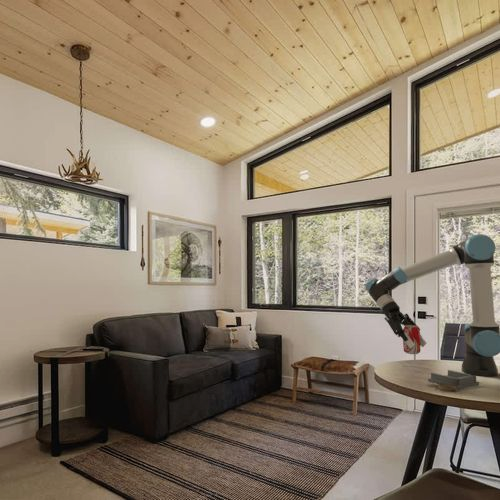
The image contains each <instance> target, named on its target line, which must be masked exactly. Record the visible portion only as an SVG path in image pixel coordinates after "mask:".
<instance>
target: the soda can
mask: <svg viewBox="0 0 500 500" xmlns="http://www.w3.org/2000/svg"><path fill="white" fill-rule="evenodd" d="M416 325H417V324H416ZM416 325H403V328H402V329H403V331H404V333H405V332H406V333H407V335H408V336H409V337H410V339H411V340H412V341H413V343H414V344H415V345H414V346H413V347H412V348H409V346H408V345H407V344H406V342H405V341H404V340H403V339H402V342H403V343H402V344H403V346H402V347H403V352H404V353H406V354H408V355H418V354H420V353H421V345H420V335H421V331H420V330H421V329H420V330H419V328H420V327H419V325H417V326H416ZM418 327H419V328H418Z"/></svg>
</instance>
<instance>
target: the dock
mask: <svg viewBox="0 0 500 500" xmlns="http://www.w3.org/2000/svg"><path fill="white" fill-rule="evenodd" d="M427 381H428V382H429V383H434V384H437V385H440V384H446V385H452V386H456V387H457V390H462V389H466V388H472V387H478V386H479V385H480V381H477V375H473V374H468V373H465V372H462V371H461V372H460V371H457V370H451V369H448V370H447V374H446V375H445V374H441V373H436V372H430V377H428V379H427Z"/></svg>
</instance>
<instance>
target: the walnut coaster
mask: <svg viewBox="0 0 500 500" xmlns="http://www.w3.org/2000/svg"><path fill="white" fill-rule="evenodd" d="M437 389H438V390H441V391H442V392H453V393H454V392H457V391H458V389H457V387H456V386H452V385H446V384H437Z"/></svg>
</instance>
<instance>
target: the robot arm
mask: <svg viewBox="0 0 500 500" xmlns="http://www.w3.org/2000/svg"><path fill="white" fill-rule="evenodd" d="M495 252H496V243H495V241H494V240H493V239H492V237H490V236H488V235H485V234H473V235H471V236H469V237H468V238H466V239H464V240H462V242H460V243H458V244H456V245H453V246H451V247H450V249H449V250H446V251H443V252H441V253H438V254H435V255H433V256H430V257H427V258H424V259H423V260H420V261H417V262H415V263H412V264H409V265H406V266H404V267H402V268H401V267H400V266H399V267H396V268H394V269H392V270H391V271H390V272H389V273H387V274H386V275H385V276H383V277H381V278H380V279H378V278H371V279H369V280H368V281H367V282H366V283H365V290H366V291H367V293H368V294H369V296H370V297H371V298H372V299H373V301H374V302H375V304H376V305H377V306H378V307H379V309H380V310H381V312H382V313H383V314H384V315H385V317H384V320H385V321H386V322H387V323H388V326H389V328H391V330H392V332H393V333H394V335H395V336H397V337H398V338H401V339H402V341H403V340H404V341H405V342H406V344H407V345H408V346H409V348H412V347H413V346H414V345H415V344H414V343H413V341H412V340H411V339H410V337H409V336H408V335H407V333H406V332H405V333H404V331H403V329H404V328H403V327H402V325H403V326H404V325H416V326H418V325H417V324H416V323H415V322H414V321H413V320H412V318H411V317H410V316H409V314H408V313H405V314H403V312H402V311H400V308H401V307H400V306H399V305H398V304H397V302H396V301H395V299H394V298H393V297H392V296H391V295H390V292H391V291H393V290H395V289H396V288H398V287H399V286H401V285H404V284H406V283H409V282H411V281H414V280H417V279H419V278H422V277H425V276H427V275H430V274H432V273H435V272H438V271H441V270H443V269H446V268H449V267H451V266H454V265H457V266H458V265H459V266H461V265H463V264H464V266H465V267H467V268H468V273H469V287H470V299H471V301H470V302H471V312H472V322H470V323H465V325H464V329H463V331H464V347H465V349H464V352H465V353H464V358H463V361H462V364H461V372H462V373H466V374H470V375H474V376H482V377H496V376H498V375H499V370H498V367H497V364H496V362H495V359H494V356H497V355H499V354H500V324H499V323H498V322H496V320H495V306H494V293H493V283H492V282H493V281H492V270H491V269H492V267H493V266H494V265H495V257H494V255H495ZM418 328H419V330H421V328H420V327H419V326H418ZM426 345H427V342H426V340H425V339H424V337H423V336H422V334H420V347H422V348H424V347H425V346H426Z"/></svg>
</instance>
